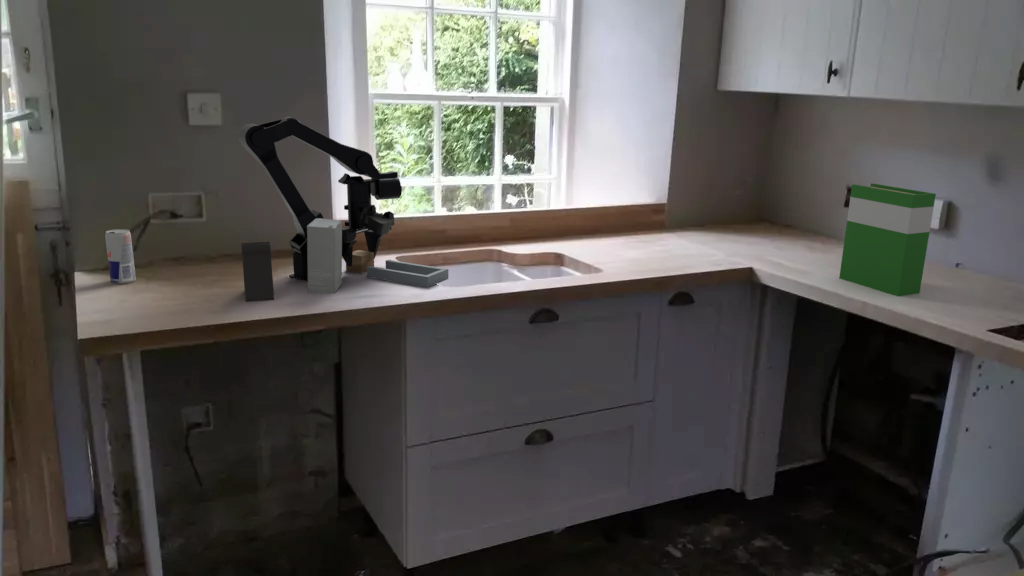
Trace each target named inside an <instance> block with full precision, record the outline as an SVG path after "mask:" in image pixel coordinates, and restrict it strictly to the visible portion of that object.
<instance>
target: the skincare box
mask: <svg viewBox="0 0 1024 576" xmlns="http://www.w3.org/2000/svg"><path fill="white" fill-rule="evenodd" d="M342 226H343V220H342V219H332V218H324V219H322V218H316V219H315V220H313V221H312V222H311V223H310V224H309V225H308V226H307V261H308V280H307V292H308V293H311V294H313V293H314V294H315V293H318V294H335V293H336V292H337V290H338V289H339V288H340V286H341V285H342V284H343V283H342V282H343V279H342V277H343V276H342V275H343V272H342V270H343V267H342V266H343V257H342Z"/></svg>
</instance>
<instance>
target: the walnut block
mask: <svg viewBox="0 0 1024 576" xmlns="http://www.w3.org/2000/svg"><path fill="white" fill-rule="evenodd" d="M368 266H373V267H375V259H374V252H368V250H367V251H366V250H359V249H358V250H354V251H353V255H352V266H351V267H349V266H347V264H346V263H345V272H352V273H356V274H357V273H358V274H364V273H366V267H368Z"/></svg>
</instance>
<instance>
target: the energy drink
mask: <svg viewBox="0 0 1024 576" xmlns="http://www.w3.org/2000/svg"><path fill="white" fill-rule="evenodd" d="M104 237H105V246H106V255H107V262H108V272H109V279H110V282H111V283H112V284H114V285H124V284H130V283H131V284H132V283H134V282H135V281H136V279H137V276H136V268H135V260H134V251H133V249H134V248H133V243H132V233H131V232H130V229H125V228H118V229H116V228H115V229H110V230H106V231H105V235H104Z"/></svg>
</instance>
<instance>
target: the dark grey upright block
mask: <svg viewBox="0 0 1024 576" xmlns="http://www.w3.org/2000/svg"><path fill="white" fill-rule="evenodd" d="M240 245H241V258H242V260H241V261H242V271H243V272H242V273H243V286H244V297H245V302H246V303H247V302H258V301H270V300H271V301H274V300H275V291H274V278H273V268H272V266H273V265H272V254H271V251H272V250H271V242H270V241H262V242H241V244H240Z"/></svg>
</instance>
